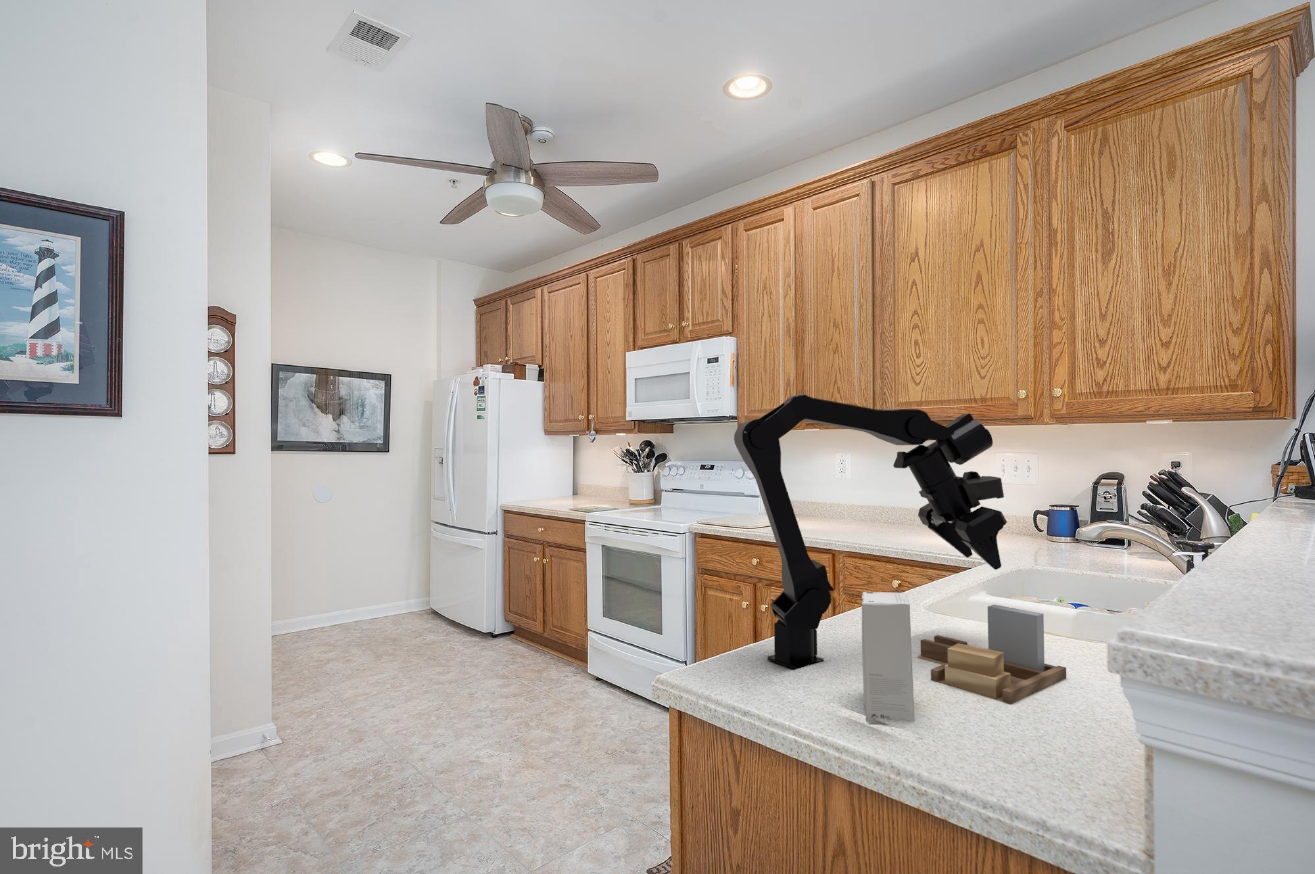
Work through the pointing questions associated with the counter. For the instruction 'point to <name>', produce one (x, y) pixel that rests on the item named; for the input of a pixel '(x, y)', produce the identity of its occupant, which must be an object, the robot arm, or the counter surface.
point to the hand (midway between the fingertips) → (983, 561)
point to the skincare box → (887, 657)
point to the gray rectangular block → (1017, 636)
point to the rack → (1017, 680)
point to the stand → (937, 649)
